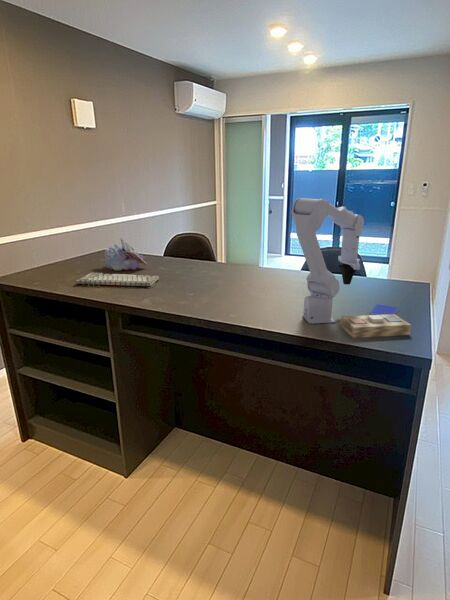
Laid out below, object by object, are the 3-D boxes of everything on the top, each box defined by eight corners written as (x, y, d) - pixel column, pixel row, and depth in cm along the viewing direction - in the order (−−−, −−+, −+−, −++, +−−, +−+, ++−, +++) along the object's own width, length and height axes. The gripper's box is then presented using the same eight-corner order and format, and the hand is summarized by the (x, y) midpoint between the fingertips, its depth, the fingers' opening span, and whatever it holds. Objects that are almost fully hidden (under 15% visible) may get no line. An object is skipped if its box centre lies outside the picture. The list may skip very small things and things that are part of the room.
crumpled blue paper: (101, 257, 219) (99, 232, 206) (138, 252, 228) (139, 228, 215) (109, 282, 207) (108, 258, 195) (148, 276, 216) (150, 252, 203)
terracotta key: (354, 329, 125) (355, 323, 124) (349, 324, 128) (350, 319, 127) (364, 328, 125) (365, 322, 124) (360, 324, 128) (360, 318, 128)
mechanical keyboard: (161, 279, 193) (161, 272, 192) (151, 290, 175) (150, 283, 174) (89, 278, 197) (88, 271, 196) (71, 288, 179) (70, 281, 178)
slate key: (389, 327, 126) (390, 321, 125) (383, 323, 129) (384, 317, 129) (399, 326, 126) (400, 321, 126) (393, 322, 130) (394, 317, 129)
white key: (372, 325, 125) (373, 319, 124) (367, 321, 128) (367, 315, 128) (382, 324, 125) (383, 318, 125) (377, 320, 129) (378, 314, 128)
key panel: (353, 337, 122) (354, 327, 121) (340, 326, 131) (341, 316, 130) (409, 334, 124) (411, 324, 123) (392, 323, 134) (394, 314, 132)
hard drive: (393, 317, 137) (398, 307, 147) (369, 313, 141) (376, 303, 151) (392, 321, 137) (398, 311, 147) (368, 317, 141) (375, 307, 151)
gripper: (369, 251, 133) (366, 289, 137) (351, 243, 146) (348, 278, 151) (350, 252, 132) (347, 290, 136) (334, 244, 145) (331, 279, 150)
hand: (346, 283), depth 143 cm, fingers closed
